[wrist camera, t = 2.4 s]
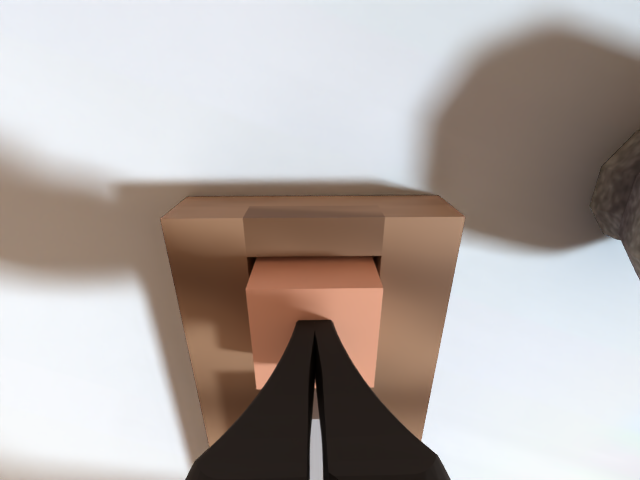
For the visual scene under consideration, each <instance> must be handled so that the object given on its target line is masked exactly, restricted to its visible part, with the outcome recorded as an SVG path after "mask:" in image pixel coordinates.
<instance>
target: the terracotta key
mask: <svg viewBox="0 0 640 480" xmlns="http://www.w3.org/2000/svg"><path fill="white" fill-rule="evenodd" d="M246 298H247V308H248V317H249V326H250V335H251V344H252V353H253V362H254V371H255V380H256V389H262V388H263V386H264V385H265V383H266V382H267V380H268V379H269V377H270V376H271V374H272V373H273V371H274V369H275V368H276V366H277V364H278V362H279V361H280V359H281V357H282V355H283V353H284V351H285V349H286V347H287V345H288V343H289V341H290V338H291V336H292V334H293V331H294V328H295V325H296V322H297V321H298V320H331V321H333V323H334V326H335V329H336V331H337V334H338V336H339V338H340V340H341V342H342V344H343V346H344V348H345V350H346V352H347V353H348V355H349V357H350V359H351V360H352V362H353V364H354V365H355V367H356V368H357V370H358V371H359V373H360V374H361V376H362V377H363V379H364V380H365V382H366V383H367V384H368V386H369V387H370V388H371V387H374V381H375V371H376V360H377V350H378V340H379V329H380V319H381V309H382V298H383V285H382V283H381V280H380V277H379V274H378V272H377V269H376V266H375V264H374V261H373V258H372V256H288V257H257V258H256V260H255V263H254V266H253V269H252V272H251V275H250V278H249V281H248V284H247V287H246ZM315 388H316V384H315Z"/></svg>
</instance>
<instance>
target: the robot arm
mask: <svg viewBox="0 0 640 480" xmlns="http://www.w3.org/2000/svg"><path fill="white" fill-rule="evenodd" d="M315 384H316V393H317V402H318V411H319V420H320V429H321V439H322V459H323V480H450V478H449V476H448V474H447V472H446V470H445V468H444V466H443V464H442V462H441V460H440V459H439V457H438V455H437V454H435V453H434V452H433V451H432V450H431V449H429V448H428V447H427V446H426V445H425V444H423V443H422V442H421V441H420V440H419V439H418V438H417V437H416V436H414V435H413V434H412V433H411V432H410V431H409V430H408V429H407V428H406V427H405V426H404V425H403V424H402V423H401V422H400V421H399V420H398V419H397V418H396V417H395V416H394V415H393V414H392V413H391V412H390V410H389V409H388V408H387V407H386V406H385V405H384V404H383V403H382V402H381V401H380V399H379V398H378V397H377V396H376V394H375V393H374V392H373V391H372V389H371V388H370V387H369V386H368V384H367V383H366V382H365V380H364V379H363V377H362V376H361V374H360V373H359V371H358V370H357V368H356V367H355V365H354V364H353V362H352V360H351V359H350V357H349V355H348V353H347V352H346V350H345V348H344V346H343V344H342V342H341V340H340V338H339V336H338V334H337V331H336V329H335V326H334V323H333V321H331V320H298V321H297V322H296V325H295V328H294V331H293V334H292V336H291V338H290V341H289V343H288V345H287V347H286V349H285V351H284V353H283V355H282V357H281V359H280V361H279V362H278V364H277V366H276V368H275V369H274V371H273V373H272V374H271V376H270V377H269V379H268V380H267V382H266V383H265V385H264V386H263V388H262V389H261V391H260V392H259V393H258V395H257V396H256V397H255V399H254V400H253V401H252V402H251V404H250V405H249V406H248V407H247V409H246V410H245V411H244V412H243V413H242V415H241V416H240V417H239V418H238V419H237V420H236V421H235V422H234V423H233V424H232V426H231V427H230V428H229V429H228V430H227V431H226V432H225V433H224V434H223V435H222V436H221V437H220V438H219V439H218V440H217V441H216V442H215V443H214V444H213V445H212V446H211V447H210V448H209V449H207V450H206V451H205V452H204V453H203V454H202V455H201V456H200V457H199V458H198V459H197V460H196V461H195V462H194V464H193V466H192V467H191V469H190V471H189V473H188V475H187V477H186V479H185V480H310V437H311V425H312V413H313V401H314V389H315Z"/></svg>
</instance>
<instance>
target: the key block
mask: <svg viewBox="0 0 640 480" xmlns="http://www.w3.org/2000/svg"><path fill="white" fill-rule="evenodd" d="M160 220H161V225H162V230H163V234H164V239H165V244H166V248H167V253H168V258H169V262H170V267H171V271H172V276H173V281H174V285H175V290H176V295H177V299H178V304H179V309H180V313H181V318H182V322H183V327H184V332H185V336H186V341H187V346H188V350H189V355H190V360H191V364H192V369H193V373H194V378H195V383H196V387H197V392H198V397H199V401H200V406H201V410H202V415H203V420H204V424H205V429H206V434H207V438H208V443H209V448H210V447H211V446H212V445H213V444H214V443H215V442H216V441H217V440H218V439H219V438H220V437H221V436H222V435H223V434H224V433H225V432H226V431H227V430H228V429H229V428H230V427H231V426H232V424H233V423H234V422H235V421H236V420H237V419H238V418H239V417H240V416H241V415H242V413H243V412H244V411H245V410H246V409H247V407H248V406H249V405H250V404H251V402H252V401H253V400H254V399H255V397H256V396H257V395H258V393H259V392H260V391H261V389H256V380H255V371H254V362H253V353H252V344H251V335H250V326H249V317H248V308H247V298H246V287H247V284H248V281H249V278H250V275H251V272H252V269H253V266H254V263H255V260H256V258H257V257H288V256H372V258H373V261H374V264H375V266H376V269H377V272H378V274H379V277H380V280H381V283H382V285H383V298H382V309H381V319H380V329H379V340H378V350H377V360H376V371H375V381H374V387H371V389H372V391H373V392H374V393H375V394H376V396H377V397H378V398H379V399H380V401H381V402H382V403H383V404H384V405H385V406H386V407H387V408H388V409H389V410H390V412H391V413H392V414H393V415H394V416H395V417H396V418H397V419H398V420H399V421H400V422H401V423H402V424H403V425H404V426H405V427H406V428H407V429H408V430H409V431H410V432H411V433H412V434H413V435H414V436H416V437H417V438H418V439H419V440H420V441H421V439H422V434H423V429H424V423H425V418H426V413H427V408H428V403H429V398H430V393H431V388H432V383H433V378H434V373H435V368H436V363H437V358H438V353H439V348H440V343H441V338H442V333H443V327H444V322H445V317H446V312H447V307H448V302H449V297H450V292H451V287H452V282H453V277H454V272H455V267H456V262H457V257H458V252H459V247H460V242H461V237H462V231H463V226H464V221H465V216H464V215H463V214H461V213H460V212H459V211H458V210H456V209H455V208H454V207H453V206H451V205H450V204H449V203H448V202H446V201H445V200H444V199H443V198H441V197H440V196H439V195H396V196H194V197H186V198H185V199H184V200H183V201H181V202H180V203H179V204H178V205H176V206H175V207H174V208H173V209H171V210H170V211H169V212H168V213H167V214H165V215H164V216H163V217H162V218H160Z"/></svg>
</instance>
